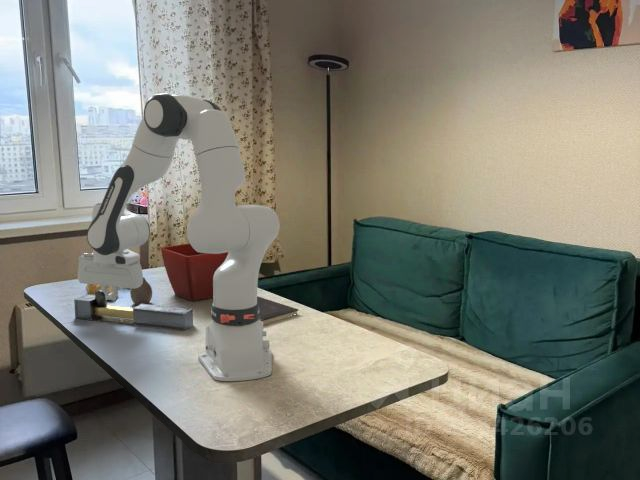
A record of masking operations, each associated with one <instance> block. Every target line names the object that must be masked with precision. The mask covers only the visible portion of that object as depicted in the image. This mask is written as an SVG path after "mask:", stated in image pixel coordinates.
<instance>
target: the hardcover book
mask: <svg viewBox="0 0 640 480" xmlns="http://www.w3.org/2000/svg"><path fill="white" fill-rule="evenodd" d="M257 302H258V304H259V320H260V321H262V322H263V326H264V325H266V324H267V323H268V324H271V323H274V322H277V321H276V320H278V321H280V320H279V319H281V320H283V319H282V318H284V319H286V318H285V317H288V316H291V315H294V314H297V315H298V311H300V310H299V309H298V308H295V307H293V306H289V305H285V304H283V303H280V302H278V301H277V302H276V301H273V300H271V299H267V298H265V297H261V296H258V295H257ZM294 316H295V315H294ZM291 317H292V316H291ZM288 318H289V317H288ZM273 321H274V322H273ZM270 322H271V323H270ZM268 324H267V325H268Z"/></svg>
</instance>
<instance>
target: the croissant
mask: <svg viewBox="0 0 640 480" xmlns="http://www.w3.org/2000/svg"><path fill="white" fill-rule="evenodd" d="M108 289H109V291H110V293H112V292H113V290H112V287H111V286H109V287H108ZM85 290H86V292H87V294H90V295H95V291H96V290H102V289H101V285H94V284H86V286H85ZM118 294H119V291H118V292H117V294H116V297H117V295H118Z"/></svg>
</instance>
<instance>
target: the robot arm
mask: <svg viewBox="0 0 640 480" xmlns="http://www.w3.org/2000/svg"><path fill="white" fill-rule="evenodd" d="M180 139H181V140H187V141H191V142H192V146H193V152H194V156H195V160H196V161H195V162H196V165H197V170H198V175H199V179H200V180H199V181H200V200H199V203H198V206H197V209H196V211H194V213H193V214H192V215H191V217H190V218H189V220H188V223H187V225H186V236H187V240H188V244H190V245H191V246H192V247H193V248H194V249H195V250H196V251H197V252H199V253H208V254H220V253H226V252H228V255H227V258H226V259H225V261H224V263H223V264H222V265H221V266H220V267H219V268H218V269H217V270H216V271H215V273H214V276H213V297H212V298H213V300H212V301H213V302H212V304H211V308H210V312H211V321H210V322H209V323H208V324H207V325H206V326H205V346H204V347H205V351H202V352H200V353H199V354H198V358H197V359H198V361H199V362H200V363H201V365H202V366H203V367H204V368H205V370H206V371H207V373H208V375H210V377H211V378H212V379H213V380H215V381H220V382H221V381H223V382H238V381H239V382H240V381H250V380H256V379H257V380H258V379H262V378H265V377H268V376H271V375H272V373H273V372H272V371H273V370H272V369H273V368H272V367H273V366H272V364H273V363H272V362H273V361H272V357H273V356H272V354H273V353H272V349H271V348H270V340H268V339H265V340H264V337H267V330H264V325H263V322H262V321H260V320H259V304H258V302H257V296H258V282H259V274H260V268H261V264H262V262H263V259H264V256H265V254H266V252H267V250H268V248H269V247H270V246H271V244H272V243H273V242H274V240H276V239H277V237H278V236H279V233H280V227H281V224H280V219H279V216H278V214H277V213H276V211H275V210H274V209H273V208H271V207H269V206H265V205H259V204H247V205H246V204H245V205H237V204H236V192H237V191H238V190H239V189H240V188H241V187H242V186H243V184H244V183H245V180H246V172H245V167H244V164H243V159H242V155H241V150H240V147H239V143H238V140H237V137H236V133H235V130H234V128H233V125H232V124H231V121H230V119H229V117H228V115H227V114H226V113H225V112H224V111H222V109H221V107H219V106H218V104H217V103H214V102H213V101H211V100H207V99H201V98H198V97H194V96H192V97H191V96H189V95H183V94H170V93H165V92H163V93H159V94H158V93H157V94H154V95H152V96H150V97H148V100H147V101H146V103H145V105H144V109H143V116H142V118H141V119H140V122H139V124H138V126H137V129H136V131H135V134H134V137H133V141H132V145H131V148H130V150H129V152H128V155H127V156H126V157H125V160H124V161H123V163H122V164H121V165H120V166H119V167H118V168H117V169H116V170H115V172H114V174H113V176H112V178H111V180H110V182H109V185H108V186H107V189H106V192H105V195H104V197H103V199H102V202H99V203H98V202H97V203H96V204H94V206H93V209H92V214H91V222H90V224H89V226H88V227H87V233H86V240H87V243H88V245H89V246H90V249H92V253H88V252H83V253H81V254H80V255H79V256H78V269H77V280H78V282H79V283H80V284H86V285H87V284H94V285H101V289H102V291H103V292H104V294H105V299H106V300H107V301H116V300H117V296H116V294H117V292H118V293H119V290H120V288H122V289H123V288H124V289H131V288H132V289H136V288H138V287H140V286H141V285H142V283H143V277H144V276H143V267H142V265H141V263H140V262H139V261H140V260H141V255H140V254H139V253H137V252H135V251H133V250H130V249H133V248H138V247H140V246H143V245H146V244H147V242H149V241H148V240H149V238H150V236H151V235H150V234H151V228H150V224H149V222H148V221H147V219H146V218H145V217H144V216H143V215H141V214H136V213H134V212H132V211H130V210H128V209H127V208H126V207H127V204H128V202H129V200H130V199H131V197H132V195H133V194H135V193H136V192H137V191H139V190H140V189H142V188H144V187H145V186H147V185H149V184H151V183H154V182H156V181H158V180H160V179H161V178H163V177H164V176H165V175H166V174H167V172H168V170H169V168H170V166H171V164H172V161H173V157H174V153H175V150H176V146H177V143H178V141H179V140H180ZM109 286H111V287H112V290H113V292H112V293H110V291H109V289H108V287H109ZM117 295H118V294H117Z"/></svg>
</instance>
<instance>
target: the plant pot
mask: <svg viewBox="0 0 640 480" xmlns="http://www.w3.org/2000/svg"><path fill="white" fill-rule="evenodd" d="M160 250H161V251H160V252H161V256H162V261H163V265H164V269H165V272H166V275H167V278H168V281H169V284H170V286H171V288H172V291H173V293H174V294H175V295H177V296H179V297H182V298H183V299H187V300H189V301H191V302H196V301H201V300H206V299H211V298H213V276H214V273H215V271H216V270H217V269H218V268H219V267H220V266H221V265H222V264H223V263H224V261H225V259H226V258H227V255H228V252H226V253H220V254H208V253H199V252H197V251H196V250H195V249H194V248H193V247H192V246H191V245H190V243H183V244H175V245H169V246H162V247H160Z"/></svg>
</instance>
